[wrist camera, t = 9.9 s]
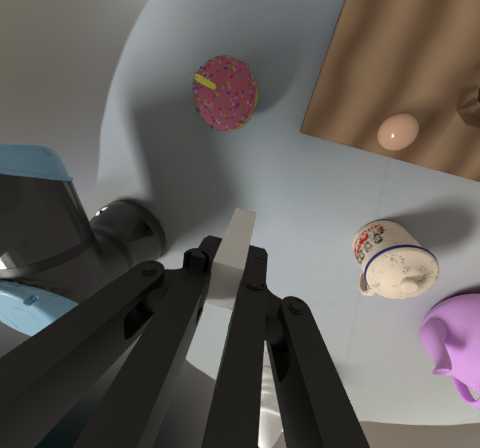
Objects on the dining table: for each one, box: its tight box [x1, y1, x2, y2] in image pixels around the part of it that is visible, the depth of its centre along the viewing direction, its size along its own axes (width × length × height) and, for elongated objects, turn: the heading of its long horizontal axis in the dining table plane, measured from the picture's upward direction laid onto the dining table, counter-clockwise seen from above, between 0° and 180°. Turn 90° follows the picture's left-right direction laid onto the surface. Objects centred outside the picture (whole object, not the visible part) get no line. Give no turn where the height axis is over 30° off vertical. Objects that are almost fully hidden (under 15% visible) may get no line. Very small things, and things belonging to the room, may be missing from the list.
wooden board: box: [300, 0, 480, 182], centre depth 27 cm, size 28×20×2 cm
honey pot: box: [258, 352, 283, 448], centre depth 52 cm, size 13×13×18 cm
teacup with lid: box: [352, 221, 439, 299], centre depth 34 cm, size 12×9×12 cm
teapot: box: [420, 294, 480, 409], centre depth 37 cm, size 22×22×14 cm
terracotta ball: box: [377, 113, 419, 151], centre depth 27 cm, size 4×4×4 cm
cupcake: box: [191, 55, 258, 131], centre depth 28 cm, size 9×8×12 cm
